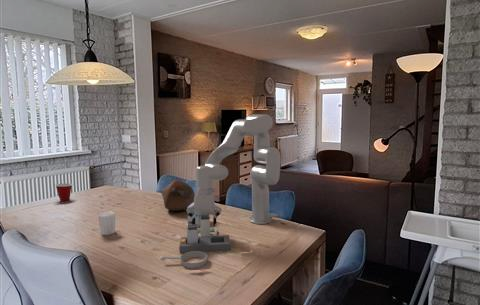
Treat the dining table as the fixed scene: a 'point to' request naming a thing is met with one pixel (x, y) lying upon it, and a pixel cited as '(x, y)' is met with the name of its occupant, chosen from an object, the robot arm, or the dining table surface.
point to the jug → (178, 196)
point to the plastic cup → (64, 191)
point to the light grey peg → (192, 234)
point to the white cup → (107, 223)
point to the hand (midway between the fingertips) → (204, 225)
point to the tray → (210, 230)
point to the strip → (206, 244)
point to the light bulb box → (197, 217)
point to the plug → (205, 225)
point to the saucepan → (189, 255)
